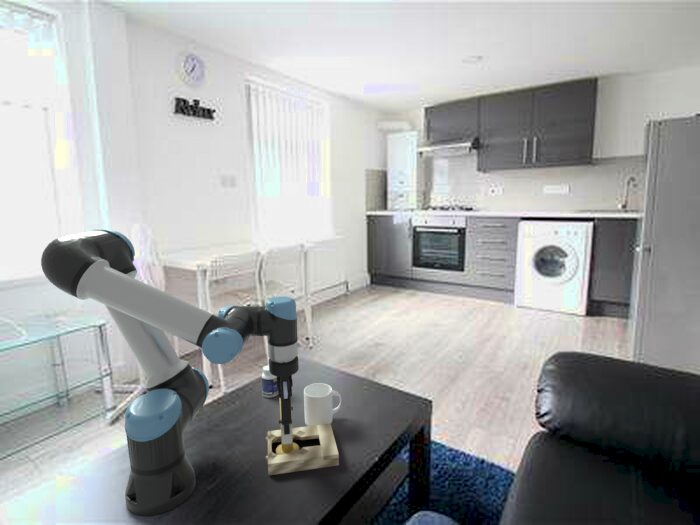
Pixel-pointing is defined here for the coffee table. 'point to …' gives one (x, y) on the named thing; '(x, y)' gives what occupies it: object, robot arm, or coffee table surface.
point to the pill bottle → (269, 383)
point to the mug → (319, 404)
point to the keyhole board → (304, 450)
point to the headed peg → (286, 447)
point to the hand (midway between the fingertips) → (286, 438)
